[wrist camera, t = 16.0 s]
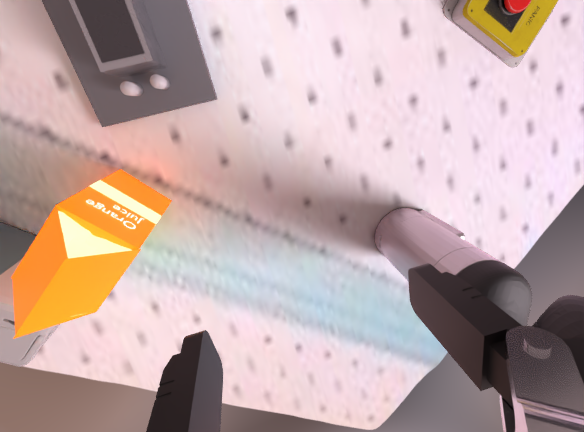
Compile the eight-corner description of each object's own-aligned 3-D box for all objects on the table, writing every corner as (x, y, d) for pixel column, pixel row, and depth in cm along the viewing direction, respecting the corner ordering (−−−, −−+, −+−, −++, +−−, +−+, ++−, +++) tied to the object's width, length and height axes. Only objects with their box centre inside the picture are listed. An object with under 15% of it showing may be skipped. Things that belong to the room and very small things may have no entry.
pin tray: (160, -85, 30) (148, -115, 25) (217, 99, 37) (214, 98, 33) (21, -57, 28) (-16, -85, 24) (107, 126, 36) (90, 129, 31)
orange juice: (86, 218, 39) (-47, 319, 21) (119, 167, 38) (6, 229, 19) (140, 247, 42) (65, 358, 24) (173, 201, 40) (120, 282, 22)
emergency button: (510, -86, 32) (587, -6, 36) (479, -65, 36) (552, 5, 40) (461, 3, 34) (539, 67, 39) (437, 14, 38) (511, 70, 43)
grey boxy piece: (132, -28, 30) (108, -59, 24) (166, 67, 33) (152, 60, 28) (84, -18, 29) (47, -47, 24) (123, 77, 33) (100, 72, 27)
